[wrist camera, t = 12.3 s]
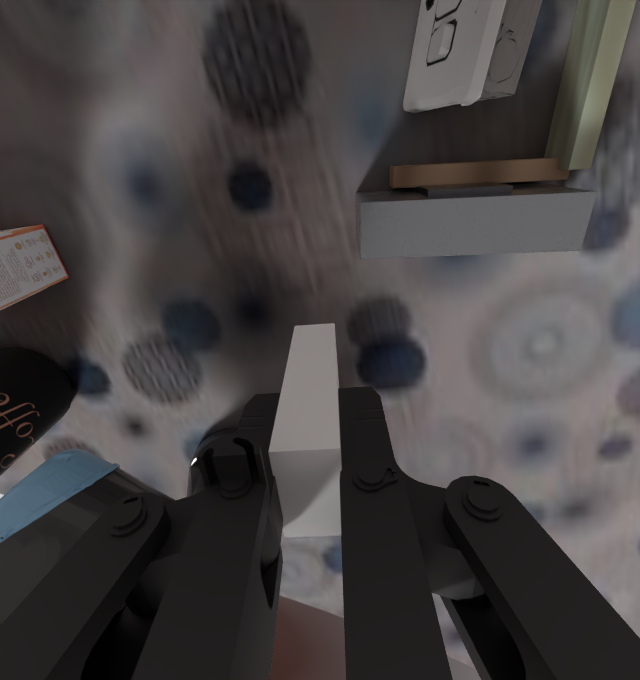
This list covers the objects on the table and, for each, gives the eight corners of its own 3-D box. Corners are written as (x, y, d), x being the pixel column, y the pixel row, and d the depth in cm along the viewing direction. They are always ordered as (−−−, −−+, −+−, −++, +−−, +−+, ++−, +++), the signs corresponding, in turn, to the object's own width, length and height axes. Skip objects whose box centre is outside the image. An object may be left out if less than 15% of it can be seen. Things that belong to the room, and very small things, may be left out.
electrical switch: (427, -45, 25) (490, -139, 17) (497, -33, 25) (591, -119, 17) (399, 112, 29) (438, 99, 21) (459, 120, 30) (520, 110, 22)
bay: (389, 185, 32) (395, 189, 28) (399, -92, 24) (410, -136, 20) (558, 177, 31) (587, 180, 27) (628, -116, 23) (681, -165, 19)
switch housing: (356, 241, 34) (360, 263, 27) (355, 186, 32) (360, 195, 25) (527, 234, 33) (578, 256, 26) (539, 177, 31) (599, 183, 24)
